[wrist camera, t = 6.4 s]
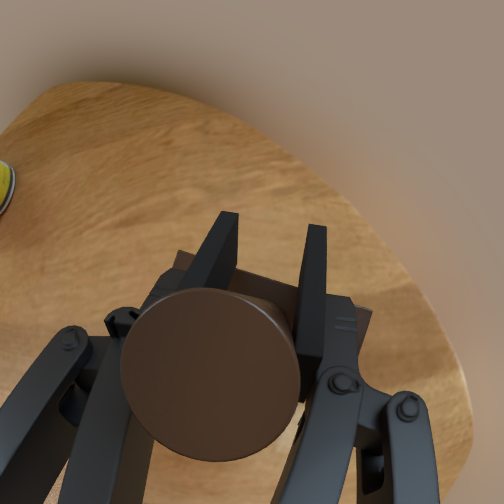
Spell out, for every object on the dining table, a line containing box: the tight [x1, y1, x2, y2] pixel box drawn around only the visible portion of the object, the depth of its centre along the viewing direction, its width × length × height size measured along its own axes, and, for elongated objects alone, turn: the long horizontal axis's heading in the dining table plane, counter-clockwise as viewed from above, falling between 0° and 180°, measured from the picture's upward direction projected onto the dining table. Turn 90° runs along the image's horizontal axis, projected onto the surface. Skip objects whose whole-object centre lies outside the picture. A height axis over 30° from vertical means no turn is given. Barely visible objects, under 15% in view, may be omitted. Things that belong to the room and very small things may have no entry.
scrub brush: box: [120, 250, 372, 462], centre depth 11 cm, size 10×5×14 cm, turn 72°
